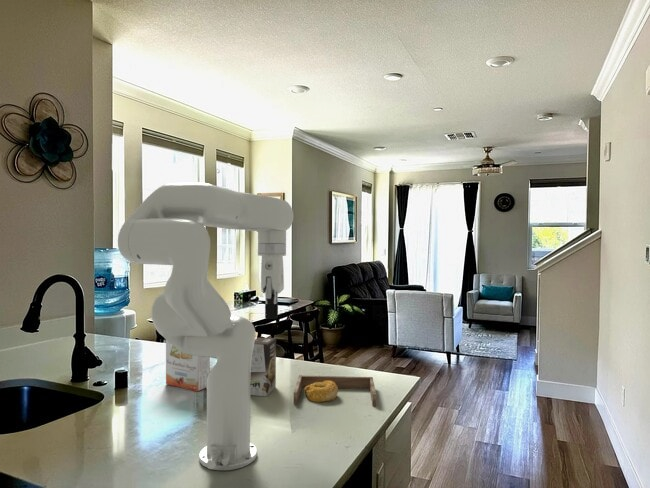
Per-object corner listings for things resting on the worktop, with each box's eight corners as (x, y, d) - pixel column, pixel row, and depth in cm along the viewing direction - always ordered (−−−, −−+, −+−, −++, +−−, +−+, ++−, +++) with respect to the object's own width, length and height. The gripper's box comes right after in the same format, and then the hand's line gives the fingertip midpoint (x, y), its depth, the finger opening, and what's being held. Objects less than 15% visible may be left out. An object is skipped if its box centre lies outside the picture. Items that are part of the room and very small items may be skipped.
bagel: (318, 388, 149) (319, 374, 149) (344, 397, 142) (345, 382, 142) (296, 397, 142) (296, 381, 142) (322, 407, 135) (322, 390, 134)
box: (376, 406, 134) (376, 394, 134) (293, 404, 135) (293, 392, 135) (372, 387, 150) (372, 377, 150) (298, 386, 151) (298, 375, 151)
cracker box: (164, 385, 151) (164, 321, 150) (178, 380, 156) (178, 318, 156) (197, 392, 144) (197, 325, 144) (210, 386, 150) (210, 322, 149)
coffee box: (267, 396, 141) (267, 344, 141) (247, 395, 142) (247, 343, 142) (276, 387, 150) (276, 337, 150) (257, 385, 151) (257, 336, 151)
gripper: (282, 251, 116) (281, 324, 117) (289, 249, 131) (288, 313, 132) (252, 251, 117) (252, 323, 117) (262, 248, 132) (262, 313, 132)
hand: (271, 318), depth 124 cm, fingers closed
